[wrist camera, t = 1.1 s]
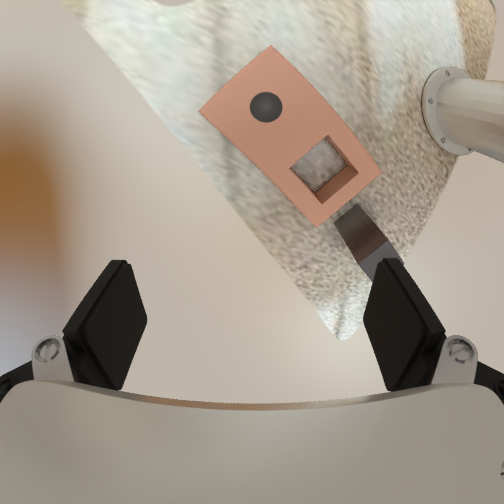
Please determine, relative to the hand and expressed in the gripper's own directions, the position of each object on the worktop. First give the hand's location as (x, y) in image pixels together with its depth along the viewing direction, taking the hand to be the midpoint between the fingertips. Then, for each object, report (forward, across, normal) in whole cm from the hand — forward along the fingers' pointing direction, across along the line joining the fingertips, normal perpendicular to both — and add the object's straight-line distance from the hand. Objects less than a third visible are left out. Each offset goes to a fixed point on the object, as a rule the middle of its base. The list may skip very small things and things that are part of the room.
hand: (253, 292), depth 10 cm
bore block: (+25, -4, -3) cm, 25 cm away
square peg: (+25, -13, +8) cm, 29 cm away
